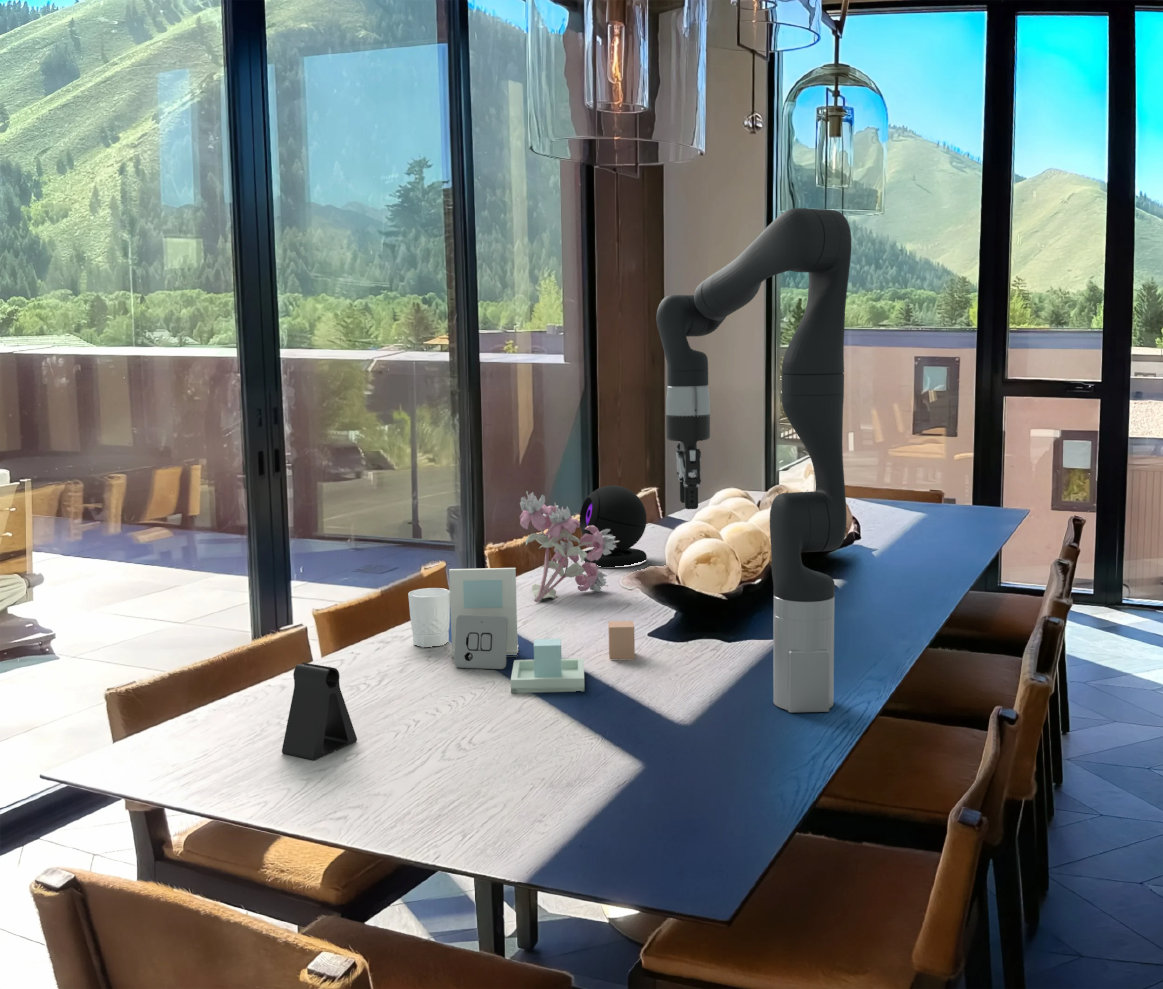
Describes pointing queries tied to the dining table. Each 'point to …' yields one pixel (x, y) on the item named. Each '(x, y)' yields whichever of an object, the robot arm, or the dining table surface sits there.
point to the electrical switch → (481, 641)
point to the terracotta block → (621, 640)
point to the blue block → (547, 658)
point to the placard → (485, 598)
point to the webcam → (616, 523)
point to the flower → (564, 546)
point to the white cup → (430, 616)
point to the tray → (528, 684)
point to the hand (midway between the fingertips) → (688, 505)
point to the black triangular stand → (317, 714)
